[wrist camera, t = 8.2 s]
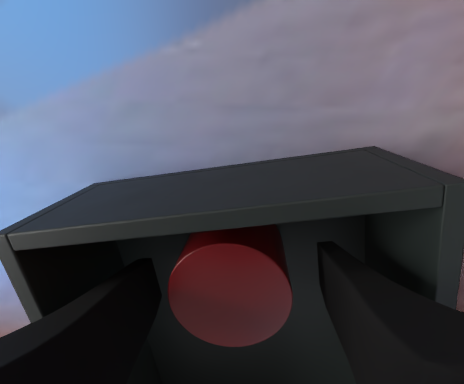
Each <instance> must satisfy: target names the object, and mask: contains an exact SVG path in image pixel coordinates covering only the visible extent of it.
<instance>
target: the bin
mask: <svg viewBox="0 0 464 384" xmlns="http://www.w3.org/2000/svg"><path fill="white" fill-rule="evenodd" d="M271 224H275V226H276V227H277V228H278V230H279V232H280V235H281V238H282V242H283V247H284V252H285V257H286V262H287V267H288V272H289V277H290V282H291V287H292V292H293V304H292V309H291V312H290V315H289V317H288V319H287V321H286V322H285V324H284V325H283V327H282V328H281V329H280V330H279V331H278V332H277V333H275V334H274V335H273V336H271V337H270V338H268V339H266V340H264V341H262V342H260V343H257V344H254V345H249V346H243V347H226V346H220V345H215V344H212V343H209V342H206V341H204V340H201V339H200V338H198V337H196V336H194V335H193V334H191V333H190V332H189V331H187V330H186V329H185V328H184V327H183V326H182V325H181V324H180V323H179V321H178V320H177V319H176V317H175V316H174V314H173V312H172V310H171V307H170V304H169V300H168V291H167V289H168V282H169V278H170V275H171V273H172V271H173V269H174V267H175V265H176V263H177V260H178V258H179V256H180V254H181V252H182V250H183V248H184V246H185V244H186V242H187V240H188V238H189V236H190V234H191V233H193V232H203V231H213V230H223V229H232V228H242V227H252V226H261V225H271ZM326 241H333V242H334V243H336V244H337V245H339V246H340V247H341V248H343V249H344V250H345V251H347V252H348V253H349V254H351V255H352V256H354V257H355V258H357V259H358V260H359V261H361V262H362V263H364V264H365V265H367V266H368V267H370V268H372V269H373V270H375V271H376V272H378V273H380V274H381V275H383V276H385V277H386V278H388V279H390V280H392V281H394V282H395V283H397V284H399V285H401V286H403V287H405V288H407V289H409V290H411V291H413V292H415V293H417V294H419V295H422V296H424V297H426V298H428V299H431V300H433V301H436V302H438V303H440V304H443V305H445V306H448V307H450V308H453V309H455V310H456V305H457V297H458V290H459V282H460V274H461V266H462V259H463V251H464V179H462V178H460V177H457V176H454V175H451V174H449V173H446V172H443V171H440V170H438V169H435V168H432V167H430V166H427V165H424V164H421V163H419V162H416V161H413V160H410V159H408V158H405V157H402V156H400V155H397V154H394V153H391V152H389V151H386V150H383V149H380V148H377V147H375V146H372V147H364V148H357V149H349V150H342V151H334V152H327V153H319V154H312V155H304V156H297V157H289V158H282V159H274V160H267V161H259V162H252V163H244V164H237V165H229V166H222V167H214V168H207V169H199V170H192V171H184V172H177V173H169V174H162V175H154V176H147V177H139V178H132V179H124V180H117V181H109V182H102V183H94V184H92V185H90V186H88V187H86V188H84V189H82V190H80V191H78V192H76V193H74V194H72V195H70V196H68V197H66V198H64V199H62V200H60V201H58V202H56V203H54V204H52V205H50V206H48V207H46V208H44V209H42V210H40V211H38V212H36V213H35V214H33V215H31V216H29V217H27V218H25V219H23V220H21V221H19V222H17V223H15V224H13V225H11V226H9V227H7V228H5V229H3V230H1V231H0V260H1V262H2V264H3V266H4V268H5V270H6V272H7V275H8V277H9V279H10V281H11V283H12V285H13V287H14V289H15V291H16V293H17V295H18V297H19V299H20V301H21V304H22V306H23V308H24V310H25V312H26V314H27V316H28V318H29V320H30V322H31V323H33V322H35V321H37V320H39V319H41V318H43V317H45V316H47V315H49V314H51V313H53V312H55V311H56V310H58V309H60V308H62V307H64V306H65V305H67V304H69V303H71V302H72V301H74V300H76V299H77V298H79V297H80V296H82V295H83V294H85V293H87V292H88V291H90V290H91V289H93V288H94V287H96V286H98V285H99V284H101V283H102V282H103V281H105V280H106V279H108V278H109V277H111V276H112V275H114V274H115V273H117V272H118V271H120V270H121V269H123V268H124V267H126V266H127V265H129V264H130V263H132V262H134V261H136V260H137V259H143V258H152V261H153V265H154V268H155V272H156V275H157V279H158V283H159V286H160V290H161V293H162V298H161V302H160V305H159V309H158V312H157V315H156V318H155V320H154V323H153V325H152V327H151V329H150V332H149V334H148V336H147V338H146V340H145V343H144V345H143V347H142V349H141V351H140V354H139V356H138V358H137V360H136V362H135V365H134V367H133V369H132V372H131V374H130V376H129V379H128V381H127V384H356V382H355V379H354V376H353V372H352V370H351V367H350V364H349V362H348V359H347V357H346V354H345V352H344V350H343V347H342V345H341V342H340V340H339V338H338V335H337V333H336V330H335V328H334V326H333V323H332V321H331V318H330V316H329V313H328V311H327V309H326V306H325V302H324V299H323V295H322V292H321V288H320V284H319V269H318V253H317V242H326Z"/></svg>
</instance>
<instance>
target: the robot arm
mask: <svg viewBox="0 0 464 384" xmlns="http://www.w3.org/2000/svg"><path fill="white" fill-rule="evenodd" d="M317 253H318V269H319V284H320V288H321V292H322V295H323V299H324V302H325V306H326V309H327V311H328V313H329V316H330V318H331V321H332V323H333V326H334V328H335V330H336V333H337V335H338V338H339V340H340V342H341V345H342V347H343V350H344V352H345V354H346V357H347V359H348V362H349V364H350V367H351V370H352V372H353V376H354V379H355V382H356V384H464V313H463V312H461V311H458V310H455V309H453V308H450V307H448V306H445V305H443V304H440V303H438V302H436V301H433V300H431V299H428V298H426V297H424V296H422V295H419V294H417V293H415V292H413V291H411V290H409V289H407V288H405V287H403V286H401V285H399V284H397V283H395V282H394V281H392V280H390V279H388V278H386V277H385V276H383V275H381V274H380V273H378V272H376V271H375V270H373V269H372V268H370V267H368V266H367V265H365V264H364V263H362V262H361V261H359V260H358V259H357V258H355V257H354V256H352V255H351V254H349V253H348V252H347V251H345V250H344V249H343V248H341V247H340V246H339V245H337V244H336V243H334V242H333V241H326V242H317ZM161 298H162V293H161V290H160V286H159V283H158V279H157V275H156V272H155V268H154V265H153V261H152V258H143V259H137V260H136V261H134V262H132V263H130V264H129V265H127V266H126V267H124V268H123V269H121V270H120V271H118V272H117V273H115V274H114V275H112V276H111V277H109V278H108V279H106V280H105V281H103V282H102V283H101V284H99V285H98V286H96V287H94V288H93V289H91V290H90V291H88V292H87V293H85V294H83V295H82V296H80V297H79V298H77V299H76V300H74V301H72V302H71V303H69V304H67V305H65V306H64V307H62V308H60V309H58V310H56V311H55V312H53V313H51V314H49V315H47V316H45V317H43V318H41V319H39V320H37V321H35V322H33V323H31V324H29V325H27V326H25V327H23V328H21V329H18V330H16V331H14V332H12V333H10V334H8V335H5V336H3V337H1V338H0V384H127V381H128V379H129V376H130V374H131V372H132V369H133V367H134V365H135V362H136V360H137V358H138V356H139V354H140V351H141V349H142V347H143V345H144V343H145V340H146V338H147V336H148V334H149V332H150V329H151V327H152V325H153V323H154V320H155V318H156V315H157V312H158V309H159V305H160V302H161Z"/></svg>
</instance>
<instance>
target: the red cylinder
mask: <svg viewBox="0 0 464 384" xmlns="http://www.w3.org/2000/svg"><path fill="white" fill-rule="evenodd" d="M167 291H168V300H169V304H170V307H171V310H172V312H173V314H174V316H175V317H176V319H177V320H178V321H179V323H180V324H181V325H182V326H183V327H184V328H185V329H186V330H187V331H189V332H190V333H191V334H193V335H194V336H196V337H198V338H200V339H201V340H204V341H206V342H209V343H212V344H215V345H220V346H226V347H243V346H249V345H254V344H257V343H260V342H262V341H264V340H266V339H268V338H270V337H271V336H273V335H274V334H275V333H277V332H278V331H279V330H280V329H281V328H282V327H283V325H284V324H285V322H286V321H287V319H288V317H289V315H290V312H291V309H292V304H293V292H292V287H291V282H290V277H289V272H288V267H287V262H286V257H285V252H284V247H283V242H282V238H281V235H280V232H279V230H278V228H277V227H276V226H275V224H271V225H261V226H252V227H242V228H232V229H223V230H213V231H203V232H193V233H191V234H190V236H189V238H188V240H187V242H186V244H185V246H184V248H183V250H182V252H181V254H180V256H179V258H178V260H177V263H176V265H175V267H174V269H173V271H172V273H171V275H170V278H169V282H168V289H167Z"/></svg>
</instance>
